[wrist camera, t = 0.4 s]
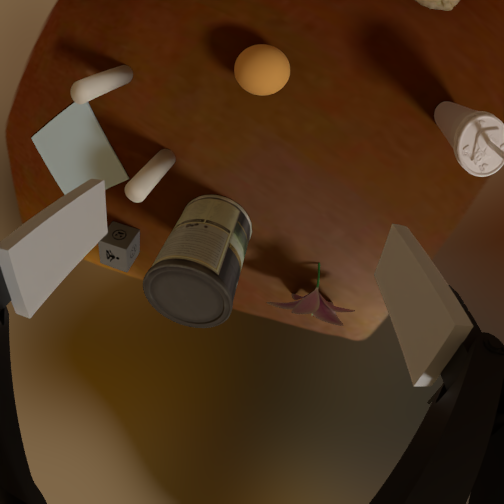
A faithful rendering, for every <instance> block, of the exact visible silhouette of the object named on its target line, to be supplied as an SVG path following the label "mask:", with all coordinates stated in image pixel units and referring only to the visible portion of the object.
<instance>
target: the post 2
mask: <svg viewBox="0 0 504 504" xmlns="http://www.w3.org/2000/svg"><path fill="white" fill-rule="evenodd" d="M174 163H175V155H174V153H173V152H172V151H171V150H169V149H162V150H160V151H159V152H158V153H157V154H156V155H155V156H154V157H153V158H152V159H151V160H150V161H149V162H148V163H147V164H146V165H145V166H144V167H143V168H142V169H141V170H140V171H139V172H138V173H137V174H136V175H135V176H134V177H133V178H132V179H131V180H130V181H129V182H128V183H127V184H126V186H125V194H126V196H127V197H128V198H129V199H130V200H131V201H133V202H136V203H140V202H142V201H143V200H144V199H145V198H146V197H147V195H148V194H149V193H150V192H151V191H152V189H153V188H154V187H155V186H156V184H157V183H158V182H159V181H160V180H161V178H162V177H163V176H164V175H165V174H166V172H167V171H168V170H169V169H170V168H171V167H172V165H173V164H174Z"/></svg>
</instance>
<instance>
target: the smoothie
mask: <svg viewBox="0 0 504 504" xmlns="http://www.w3.org/2000/svg"><path fill="white" fill-rule="evenodd" d="M434 119H435V122H436V124H437V125H438V127H439V128H440V130H441V131H442V133H443V134H444V135H445V137H446V138H447V140H448V141H449V143H450V144H451V146H452V147H453V149H454V153H455V156H456V158H457V161H458V162H459V164H460V165H461V166H462V167H463V168H464V169H465V170H466V171H467V172H469V173H470V174H472V175H474V176H478V177H485V176H489V175H492V174H494V173H495V172H497V171H498V170H499V169H500V168H501V167H502V166H503V164H504V124H503V123H502V122H501V121H500V120H499V119H498V118H497V117H495V116H494V115H493V114H491V113H488V112H484V111H475V110H473V109H470V108H467V107H464V106H462V105H459V104H456V103H453V102H449V101H444V102H442V103H440V104H439V105H438V106H437V107H436V109H435V112H434Z"/></svg>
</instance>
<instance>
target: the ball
mask: <svg viewBox="0 0 504 504" xmlns="http://www.w3.org/2000/svg"><path fill="white" fill-rule="evenodd" d="M234 73H235V77H236V80H237V82H238V83H239V85H240V86H241V87H242V88H243V89H244V90H246V91H247V92H249V93H252V94H255V95H270V94H273V93H275V92H277V91H279V90H280V89H281V88H283V87H284V85H285V84H286V83H287V81H288V79H289V75H290V65H289V61H288V59H287V57H286V56H285V55H284V53H283V52H281V51H280V50H279V49H277V48H276V47H273V46H271V45H266V44H258V45H253V46H250V47H248V48H246V49H245V50H244V51H242V52H241V53H240V55H239V56H238V58H237V59H236V62H235V66H234Z"/></svg>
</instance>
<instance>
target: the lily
mask: <svg viewBox="0 0 504 504" xmlns="http://www.w3.org/2000/svg"><path fill="white" fill-rule="evenodd" d="M319 278H320V263H318V279H317V286H316V289H315V290H314V291H313V292H311V293H310V294H308V295H306V296H304V297H301V296H299V295H296V294H293V293H292V298H293V299H294V300H298V299H301V298H303V299H302V300H299V301H295V302H289V303H274V302H267V303H268V304H270V305H273V306H276V307H279V308H283V309H293V310H292V313H295V314H310V313H312V315H311V316H313V317H314V316H315V317H316V318H318V319H320V320H322V321H325V322H327V323H331V324H335V325H339V326H343V323H342V322H341V321H340V320H339V318H338V316H337V315H336V313H335V311H336V312H353V311H355V310H349V309H344V308H339V307H336V306H334V305H333V303H332V302H327V301H326V300H325V299H324V298H323V297H322V296H321V294H320V293H319V291H318V287H319Z"/></svg>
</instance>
